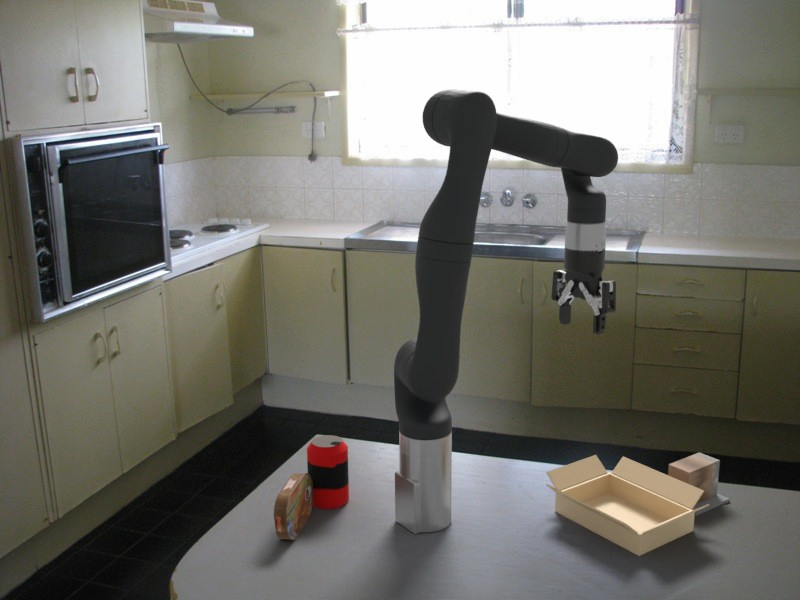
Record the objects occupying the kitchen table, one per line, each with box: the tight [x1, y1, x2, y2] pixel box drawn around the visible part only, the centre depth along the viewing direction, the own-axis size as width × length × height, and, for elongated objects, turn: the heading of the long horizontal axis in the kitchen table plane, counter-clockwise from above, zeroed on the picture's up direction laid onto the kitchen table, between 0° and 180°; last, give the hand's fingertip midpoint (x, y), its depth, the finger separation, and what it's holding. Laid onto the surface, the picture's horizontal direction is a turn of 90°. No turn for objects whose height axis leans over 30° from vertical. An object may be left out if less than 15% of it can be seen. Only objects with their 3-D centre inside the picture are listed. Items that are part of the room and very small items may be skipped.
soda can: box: [306, 434, 350, 510], centre depth 162 cm, size 8×8×12 cm
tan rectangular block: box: [667, 452, 721, 504], centre depth 161 cm, size 9×4×7 cm, turn 125°
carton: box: [545, 454, 709, 557], centre depth 153 cm, size 20×26×7 cm
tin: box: [273, 472, 314, 541], centre depth 153 cm, size 15×3×8 cm, turn 169°
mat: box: [692, 493, 731, 517], centre depth 162 cm, size 10×9×1 cm
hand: (581, 328), depth 167 cm, fingers open, 8 cm apart
